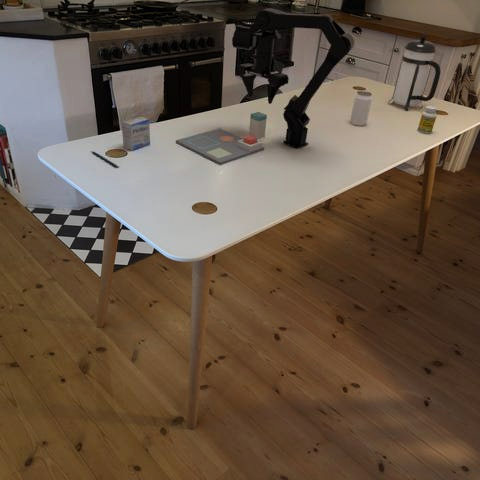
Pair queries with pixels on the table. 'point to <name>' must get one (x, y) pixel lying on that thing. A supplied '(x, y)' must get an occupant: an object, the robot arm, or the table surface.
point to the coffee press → (415, 74)
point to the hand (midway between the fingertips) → (260, 100)
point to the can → (361, 108)
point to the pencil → (105, 160)
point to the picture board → (220, 146)
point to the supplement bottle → (427, 120)
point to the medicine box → (136, 133)
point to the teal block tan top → (257, 125)
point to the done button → (250, 139)
